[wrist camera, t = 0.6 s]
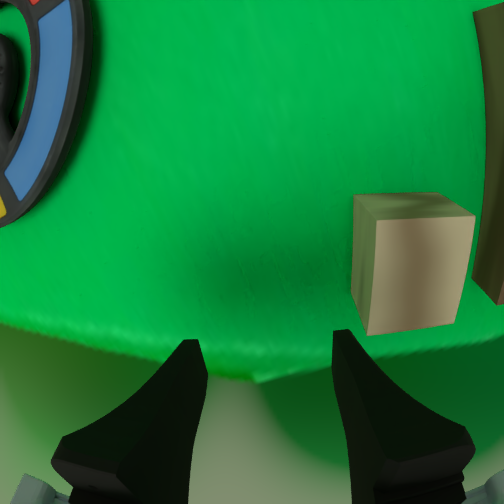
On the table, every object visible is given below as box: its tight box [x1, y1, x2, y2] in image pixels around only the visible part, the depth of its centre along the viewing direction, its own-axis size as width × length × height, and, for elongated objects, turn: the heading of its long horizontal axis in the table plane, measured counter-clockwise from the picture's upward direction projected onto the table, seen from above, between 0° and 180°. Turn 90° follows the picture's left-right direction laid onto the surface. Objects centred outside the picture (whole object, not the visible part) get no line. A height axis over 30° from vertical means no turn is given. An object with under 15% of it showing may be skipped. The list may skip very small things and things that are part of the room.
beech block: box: [351, 192, 475, 336], centre depth 18 cm, size 6×7×5 cm
